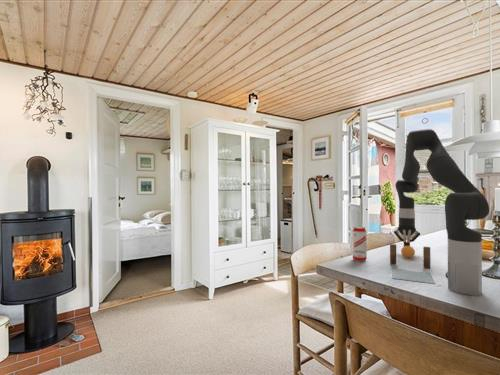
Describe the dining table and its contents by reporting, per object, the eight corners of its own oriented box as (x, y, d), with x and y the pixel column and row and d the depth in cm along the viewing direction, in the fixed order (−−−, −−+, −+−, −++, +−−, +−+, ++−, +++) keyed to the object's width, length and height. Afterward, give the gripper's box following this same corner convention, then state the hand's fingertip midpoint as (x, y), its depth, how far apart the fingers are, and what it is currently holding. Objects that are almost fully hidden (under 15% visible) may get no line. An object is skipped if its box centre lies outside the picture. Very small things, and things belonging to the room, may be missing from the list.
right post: (430, 268, 120) (430, 248, 120) (423, 268, 121) (423, 247, 121) (430, 267, 122) (429, 246, 122) (423, 266, 123) (423, 246, 123)
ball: (415, 260, 135) (415, 247, 135) (401, 258, 138) (401, 246, 138) (414, 257, 140) (414, 245, 140) (401, 255, 143) (400, 244, 143)
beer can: (367, 262, 131) (367, 228, 131) (353, 261, 132) (353, 228, 132) (365, 259, 137) (364, 226, 137) (351, 258, 138) (351, 226, 138)
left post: (396, 265, 126) (396, 245, 126) (390, 264, 127) (389, 244, 127) (396, 263, 128) (396, 244, 128) (390, 263, 129) (389, 243, 129)
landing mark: (435, 284, 101) (435, 283, 101) (391, 278, 107) (391, 278, 107) (430, 273, 113) (430, 273, 113) (392, 269, 120) (392, 268, 120)
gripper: (392, 216, 148) (392, 249, 149) (421, 218, 142) (421, 251, 143) (392, 215, 155) (392, 246, 155) (420, 216, 149) (420, 249, 149)
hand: (406, 249), depth 149 cm, fingers closed
